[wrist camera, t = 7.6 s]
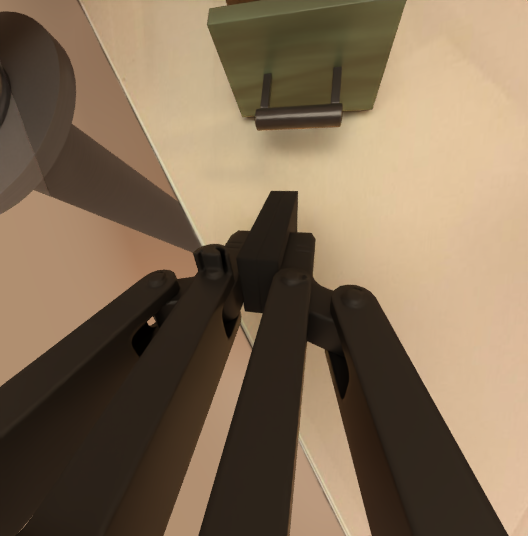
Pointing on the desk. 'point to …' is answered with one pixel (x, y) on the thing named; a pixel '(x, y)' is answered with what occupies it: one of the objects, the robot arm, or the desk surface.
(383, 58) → the drawer
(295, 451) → the robot arm
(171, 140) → the desk surface
